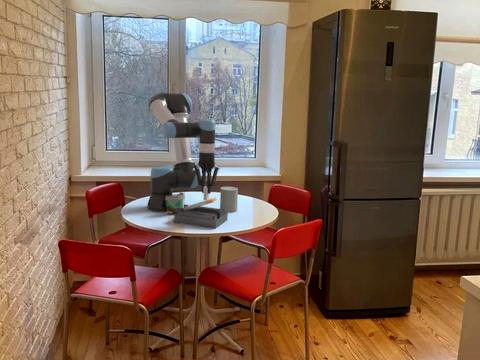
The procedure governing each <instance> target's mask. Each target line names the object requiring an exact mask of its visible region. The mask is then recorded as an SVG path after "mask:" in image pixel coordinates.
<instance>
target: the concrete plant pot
mask: <svg viewBox="0 0 480 360" xmlns="http://www.w3.org/2000/svg"><path fill="white" fill-rule="evenodd" d="M219 195H220V198H219V209H224V212H228V214H230V213H231V214H232V213H233V214H234V213H236V212H238V204H239V203H238V200H239V199H238V198H239V197H238V196H239V188H238V187H236V186H221V187H220V194H219Z"/></svg>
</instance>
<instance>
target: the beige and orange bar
mask: <svg viewBox="0 0 480 360" xmlns="http://www.w3.org/2000/svg"><path fill="white" fill-rule="evenodd" d="M217 201H218V200H217V197H213V198H209V200H203V201H200V202H196V203H193V204H188V206H186V207H184V206H183V208H182V211H186V210H190V209H193V208H196V207H200V206H201V207H204V206H206V205H209V204H212V203H215V202H217Z"/></svg>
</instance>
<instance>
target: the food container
mask: <svg viewBox="0 0 480 360" xmlns="http://www.w3.org/2000/svg"><path fill="white" fill-rule="evenodd" d="M185 198H186V197H185V194H184V192H181V191H179V193H178V194H173V195H172V196H166V198H165V200H166V205H167V211H166V214H167V215H169V216H171V215H172V216H174V214H176V213H178V208H184V200H185Z"/></svg>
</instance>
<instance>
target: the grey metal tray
mask: <svg viewBox="0 0 480 360" xmlns="http://www.w3.org/2000/svg"><path fill="white" fill-rule="evenodd" d="M186 206H189V204H183V208H184V207H186ZM228 214H229V213H228V212H224V209H220V208H215V207H208V206H200V207H196V208H193V209H190V210H186V211H182V208H178V213H176V214H174V215H173V223H175V224H180V225H181V224H182V225H187V226H188V225H189V226H194V227H203V228H208V229H209V228H210V229H214V230H216V229H217V228H219V227H220V226H222V225H223V224H224V223H226V222H227V221H228V218H229V217H228V216H229V215H228Z"/></svg>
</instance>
